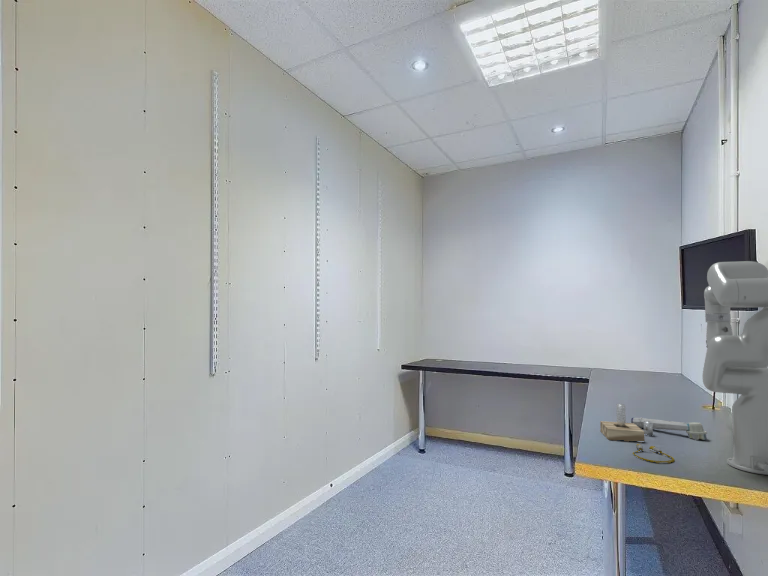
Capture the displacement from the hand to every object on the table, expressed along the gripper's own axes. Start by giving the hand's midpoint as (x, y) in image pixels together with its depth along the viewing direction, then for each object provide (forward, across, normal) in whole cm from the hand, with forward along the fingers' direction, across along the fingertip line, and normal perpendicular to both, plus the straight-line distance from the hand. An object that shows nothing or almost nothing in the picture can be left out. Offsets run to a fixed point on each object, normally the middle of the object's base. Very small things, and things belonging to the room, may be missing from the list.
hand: (719, 364), depth 159 cm
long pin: (+28, -5, +35) cm, 45 cm away
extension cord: (+29, -26, +31) cm, 50 cm away
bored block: (+28, -5, +35) cm, 45 cm away
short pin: (+28, +1, +24) cm, 37 cm away
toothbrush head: (+29, +6, +16) cm, 33 cm away
